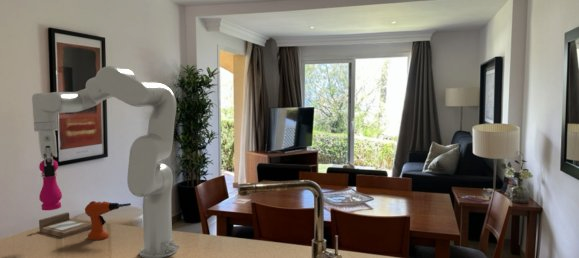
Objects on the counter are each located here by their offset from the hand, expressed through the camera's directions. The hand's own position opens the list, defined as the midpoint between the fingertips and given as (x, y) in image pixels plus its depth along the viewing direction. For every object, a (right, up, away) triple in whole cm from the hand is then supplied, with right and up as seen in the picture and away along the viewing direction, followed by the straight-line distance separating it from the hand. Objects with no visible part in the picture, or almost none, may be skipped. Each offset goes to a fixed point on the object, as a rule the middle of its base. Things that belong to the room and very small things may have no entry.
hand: (49, 174), depth 148 cm
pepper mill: (0, -13, +1) cm, 13 cm away
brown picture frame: (-4, -25, +17) cm, 31 cm away
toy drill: (+19, -26, +8) cm, 33 cm away
